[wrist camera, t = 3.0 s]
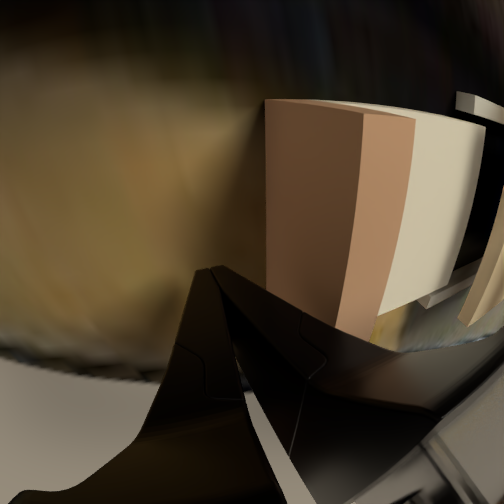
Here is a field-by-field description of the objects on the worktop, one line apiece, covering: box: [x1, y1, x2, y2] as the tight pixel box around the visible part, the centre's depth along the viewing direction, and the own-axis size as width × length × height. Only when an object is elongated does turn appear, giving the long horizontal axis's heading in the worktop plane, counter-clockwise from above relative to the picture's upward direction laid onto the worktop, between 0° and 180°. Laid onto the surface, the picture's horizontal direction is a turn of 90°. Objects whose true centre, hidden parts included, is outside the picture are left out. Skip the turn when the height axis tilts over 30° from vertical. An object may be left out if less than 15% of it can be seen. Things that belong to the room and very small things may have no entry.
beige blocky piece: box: [265, 99, 486, 342], centre depth 11 cm, size 12×10×5 cm
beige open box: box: [416, 91, 504, 327], centre depth 14 cm, size 11×13×4 cm
